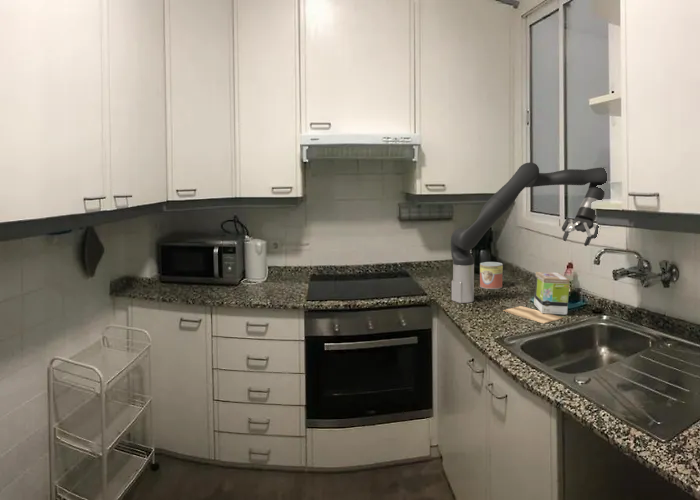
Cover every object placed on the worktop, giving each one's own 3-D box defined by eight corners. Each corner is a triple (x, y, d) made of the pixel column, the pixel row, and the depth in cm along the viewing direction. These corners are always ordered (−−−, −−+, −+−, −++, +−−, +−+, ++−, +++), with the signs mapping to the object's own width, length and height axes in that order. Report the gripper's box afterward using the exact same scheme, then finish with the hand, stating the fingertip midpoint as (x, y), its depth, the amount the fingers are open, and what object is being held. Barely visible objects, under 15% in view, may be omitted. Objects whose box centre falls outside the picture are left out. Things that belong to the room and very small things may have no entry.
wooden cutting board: (544, 323, 163) (544, 322, 163) (502, 311, 180) (502, 310, 180) (563, 318, 168) (563, 317, 168) (521, 306, 185) (521, 305, 185)
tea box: (568, 315, 171) (570, 278, 169) (541, 314, 173) (543, 278, 171) (558, 305, 185) (559, 271, 184) (533, 304, 187) (534, 271, 185)
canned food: (476, 287, 222) (476, 264, 221) (484, 283, 231) (484, 261, 229) (498, 290, 215) (498, 266, 214) (505, 285, 224) (505, 262, 222)
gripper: (607, 217, 187) (593, 250, 185) (572, 210, 196) (559, 242, 194) (605, 209, 181) (591, 243, 179) (570, 203, 190) (556, 235, 188)
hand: (574, 242), depth 186 cm, fingers open, 8 cm apart
